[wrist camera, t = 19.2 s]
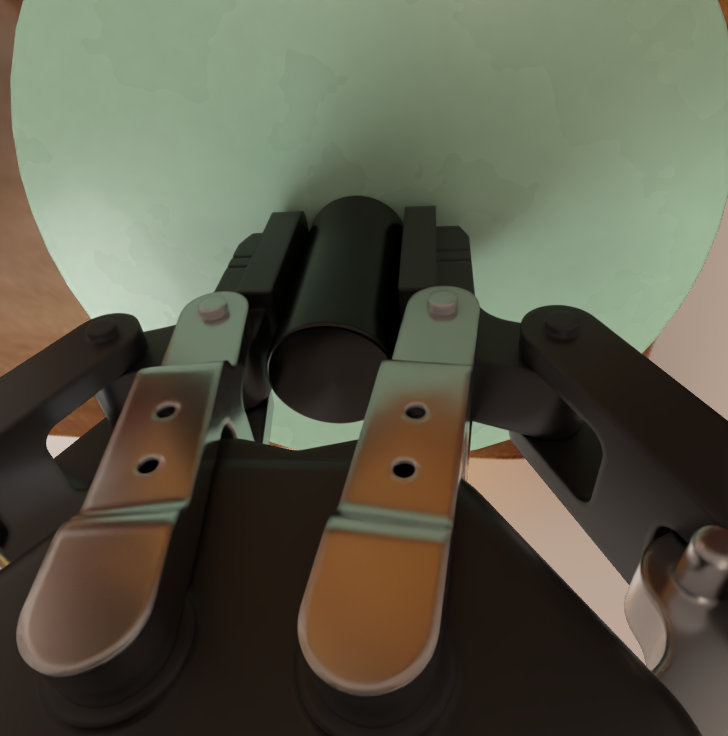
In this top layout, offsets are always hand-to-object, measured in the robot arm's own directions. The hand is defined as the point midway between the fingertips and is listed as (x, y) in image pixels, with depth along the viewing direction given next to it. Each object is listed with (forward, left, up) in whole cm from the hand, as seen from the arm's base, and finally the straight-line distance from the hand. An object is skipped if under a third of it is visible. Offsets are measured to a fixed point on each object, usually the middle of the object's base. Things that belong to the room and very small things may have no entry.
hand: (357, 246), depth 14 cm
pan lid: (0, 0, -1) cm, 1 cm away
